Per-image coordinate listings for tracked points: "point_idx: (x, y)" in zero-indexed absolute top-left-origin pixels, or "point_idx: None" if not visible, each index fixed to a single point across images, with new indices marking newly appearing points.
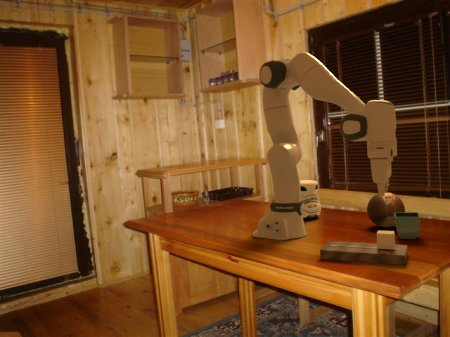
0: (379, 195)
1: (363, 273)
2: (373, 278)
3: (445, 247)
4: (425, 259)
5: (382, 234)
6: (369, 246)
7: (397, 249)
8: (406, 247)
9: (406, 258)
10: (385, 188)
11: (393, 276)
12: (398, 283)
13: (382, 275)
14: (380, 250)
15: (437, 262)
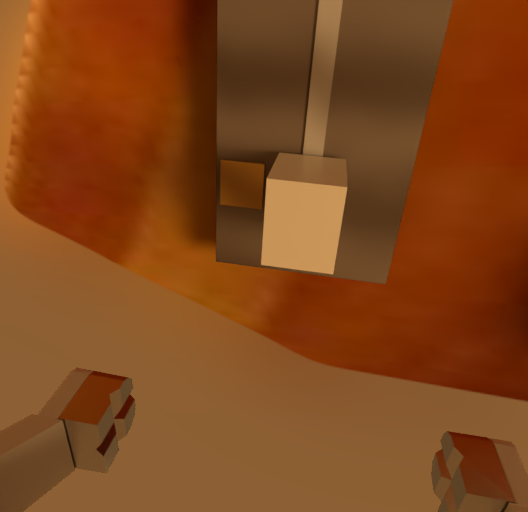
0: (75, 377)
1: (76, 83)
2: (39, 126)
3: (488, 394)
4: (314, 311)
5: (265, 208)
6: (351, 106)
7: None
8: (344, 277)
9: None
10: (443, 498)
11: (89, 195)
12: (31, 207)
13: (84, 158)
14: None
15: (283, 339)
